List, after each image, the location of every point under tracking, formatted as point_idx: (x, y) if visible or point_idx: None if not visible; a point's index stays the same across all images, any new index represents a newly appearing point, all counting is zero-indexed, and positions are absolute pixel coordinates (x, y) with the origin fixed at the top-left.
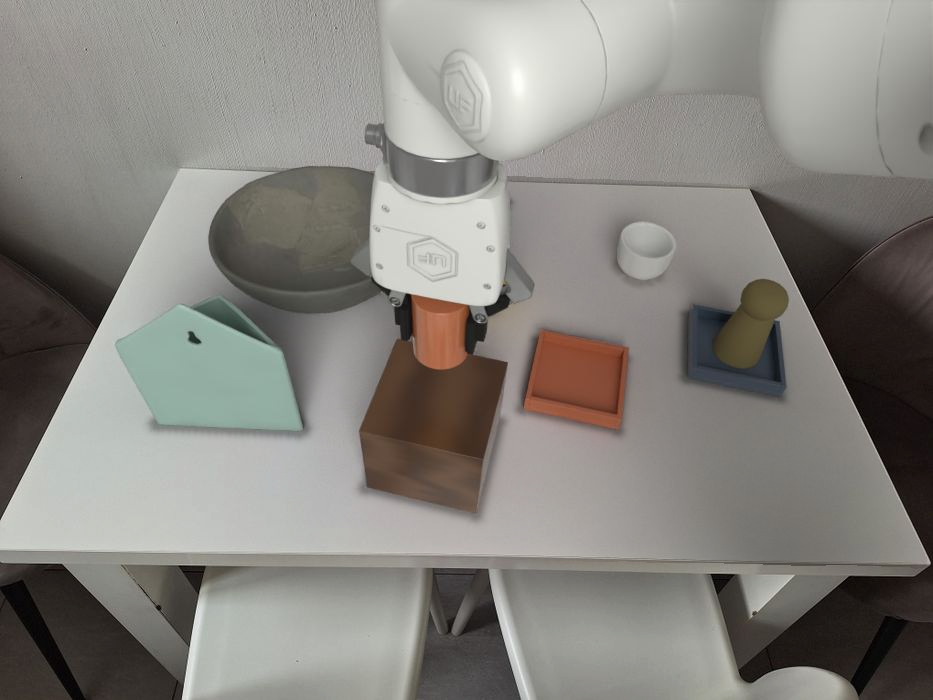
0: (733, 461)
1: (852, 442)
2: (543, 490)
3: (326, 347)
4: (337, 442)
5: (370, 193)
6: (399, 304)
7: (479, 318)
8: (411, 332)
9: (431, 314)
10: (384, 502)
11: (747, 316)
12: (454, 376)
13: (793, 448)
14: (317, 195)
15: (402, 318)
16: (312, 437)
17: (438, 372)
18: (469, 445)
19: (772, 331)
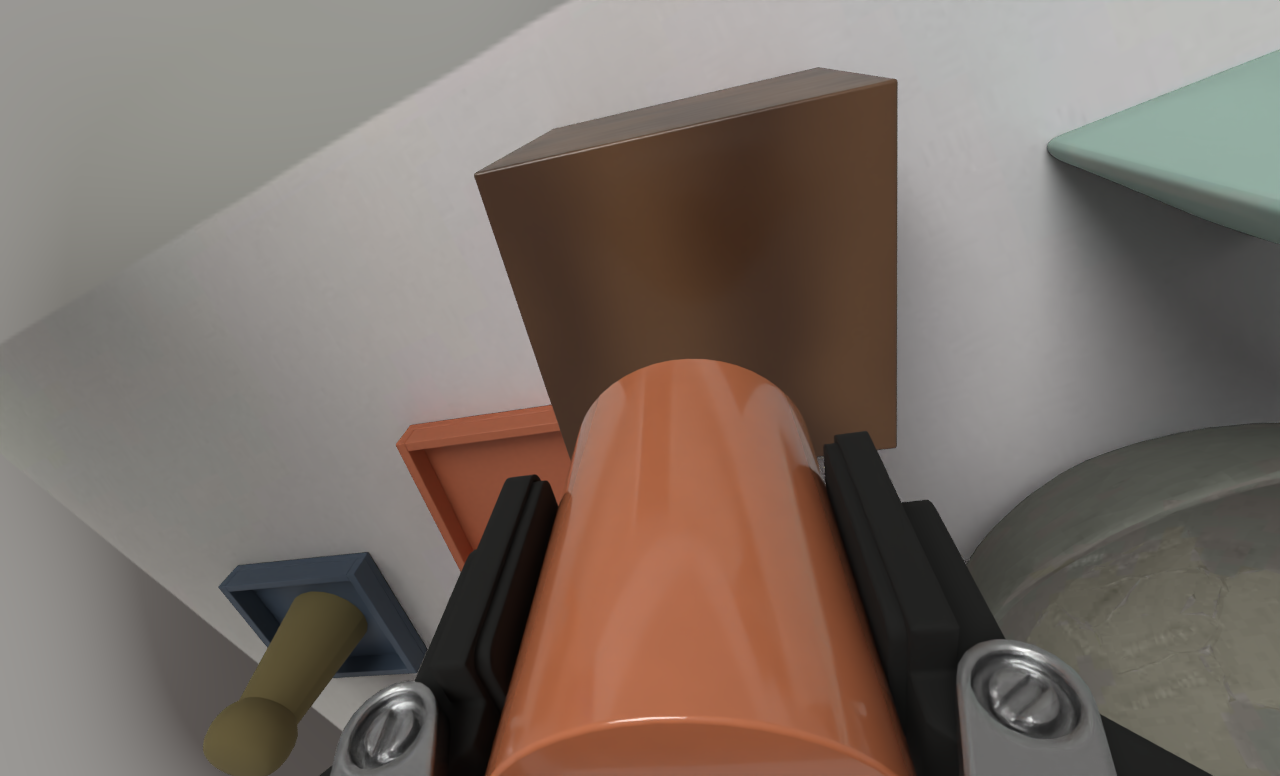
0: (223, 440)
1: (114, 531)
2: (459, 249)
3: (1056, 378)
4: (941, 153)
5: None
6: (973, 668)
7: (404, 717)
8: (829, 485)
9: (671, 697)
10: (761, 49)
11: (274, 697)
12: None
13: (169, 494)
14: (1224, 714)
15: (905, 561)
16: (1013, 136)
17: None
18: (534, 203)
19: None
